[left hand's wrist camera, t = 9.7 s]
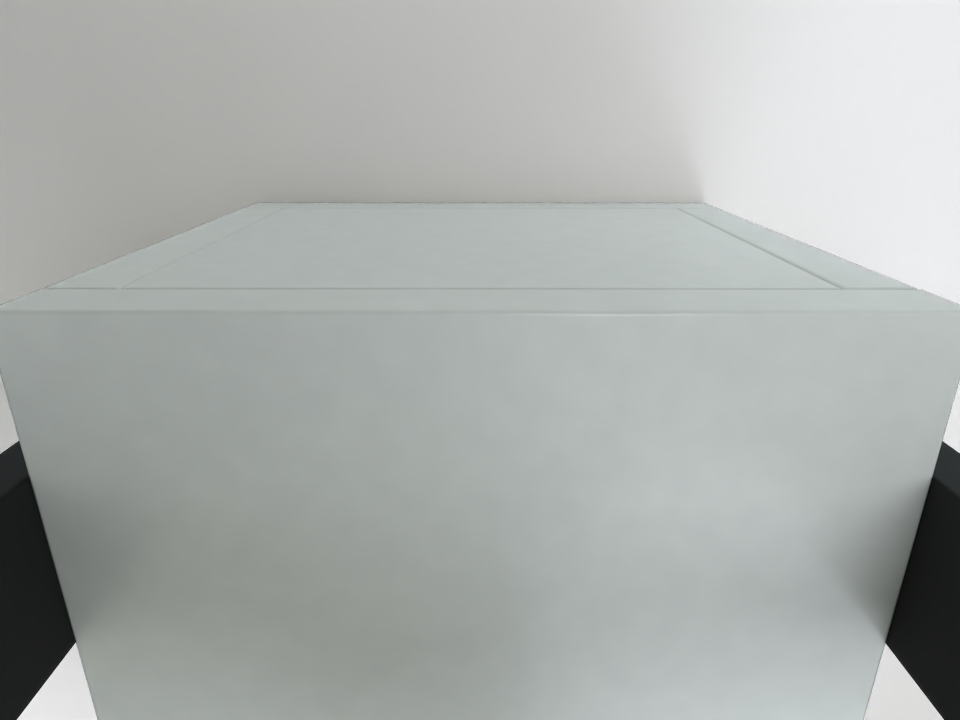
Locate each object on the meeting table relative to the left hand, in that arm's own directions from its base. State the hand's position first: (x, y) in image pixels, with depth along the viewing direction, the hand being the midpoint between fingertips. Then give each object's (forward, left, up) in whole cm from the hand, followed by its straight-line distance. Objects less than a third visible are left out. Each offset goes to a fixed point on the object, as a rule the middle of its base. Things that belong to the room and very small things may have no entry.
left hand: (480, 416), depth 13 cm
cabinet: (+1, -7, -5) cm, 9 cm away
